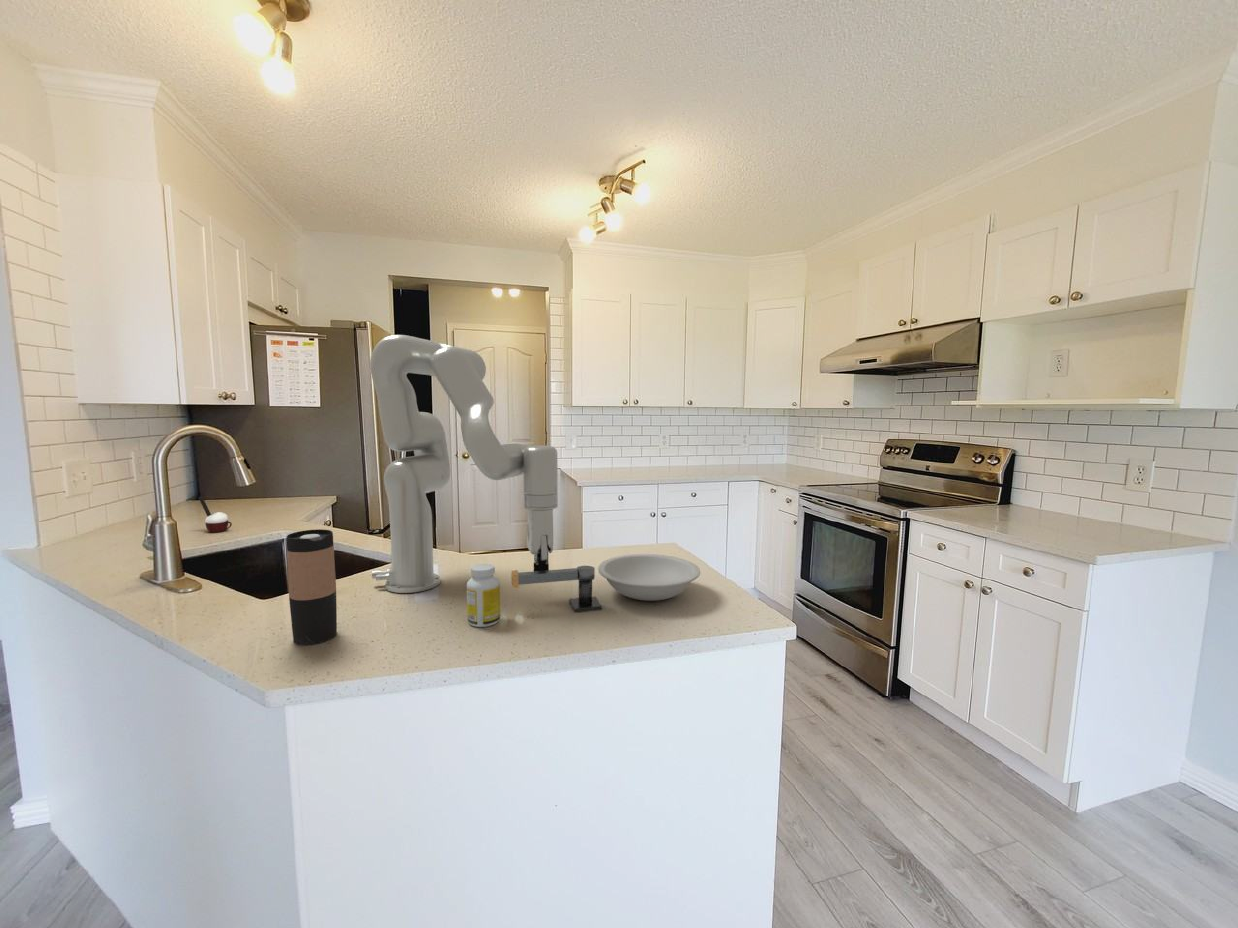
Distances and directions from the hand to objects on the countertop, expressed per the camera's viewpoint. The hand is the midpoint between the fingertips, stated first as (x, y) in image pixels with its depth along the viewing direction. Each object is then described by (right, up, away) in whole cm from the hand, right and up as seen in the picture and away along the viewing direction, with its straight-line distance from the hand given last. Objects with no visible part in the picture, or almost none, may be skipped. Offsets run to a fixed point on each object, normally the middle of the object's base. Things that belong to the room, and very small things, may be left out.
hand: (541, 579), depth 117 cm
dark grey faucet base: (+10, -5, -3) cm, 12 cm away
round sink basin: (+25, -5, +5) cm, 26 cm away
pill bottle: (-10, -6, -12) cm, 17 cm away
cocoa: (-121, +3, +60) cm, 135 cm away
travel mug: (-40, -7, -20) cm, 45 cm away
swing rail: (+4, +1, -5) cm, 7 cm away
